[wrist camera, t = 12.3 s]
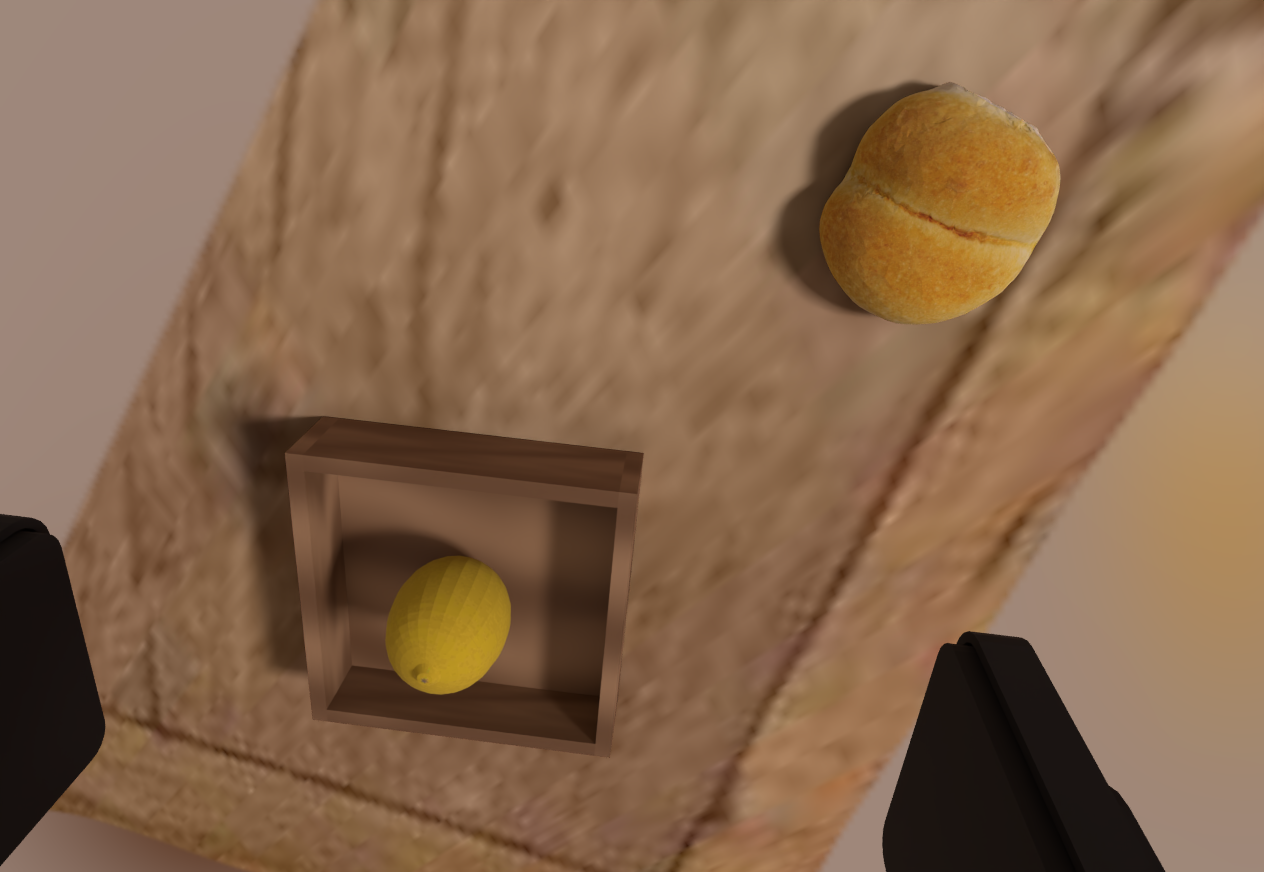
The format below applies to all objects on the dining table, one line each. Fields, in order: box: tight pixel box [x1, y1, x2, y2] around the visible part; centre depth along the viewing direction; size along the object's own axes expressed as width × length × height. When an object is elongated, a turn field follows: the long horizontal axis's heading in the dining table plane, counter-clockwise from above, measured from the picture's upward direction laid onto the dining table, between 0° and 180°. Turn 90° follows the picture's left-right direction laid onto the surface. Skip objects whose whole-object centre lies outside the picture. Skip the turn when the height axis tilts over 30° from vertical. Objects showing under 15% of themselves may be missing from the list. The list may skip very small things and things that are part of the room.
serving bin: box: [285, 416, 644, 758], centre depth 41 cm, size 16×16×4 cm
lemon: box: [385, 556, 511, 694], centre depth 39 cm, size 6×6×8 cm
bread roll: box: [819, 82, 1060, 324], centre depth 32 cm, size 8×9×4 cm
